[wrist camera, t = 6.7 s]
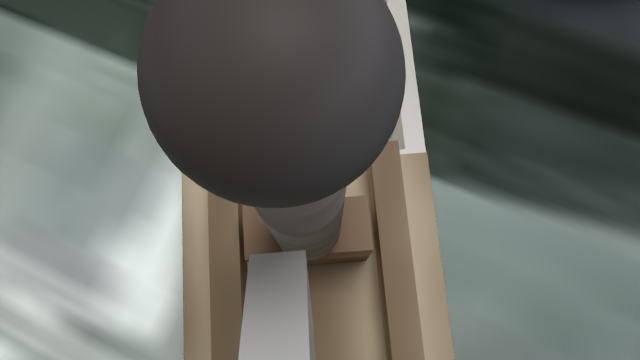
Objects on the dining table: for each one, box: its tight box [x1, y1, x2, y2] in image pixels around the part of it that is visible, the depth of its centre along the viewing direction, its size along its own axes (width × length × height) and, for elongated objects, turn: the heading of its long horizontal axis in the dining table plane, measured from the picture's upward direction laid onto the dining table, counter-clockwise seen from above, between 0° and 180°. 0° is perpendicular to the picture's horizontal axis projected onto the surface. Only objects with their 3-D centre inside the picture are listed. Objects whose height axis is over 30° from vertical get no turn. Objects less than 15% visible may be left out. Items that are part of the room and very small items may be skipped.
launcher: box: [182, 140, 455, 360], centre depth 25 cm, size 11×12×9 cm
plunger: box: [137, 0, 406, 265], centre depth 14 cm, size 5×4×18 cm
